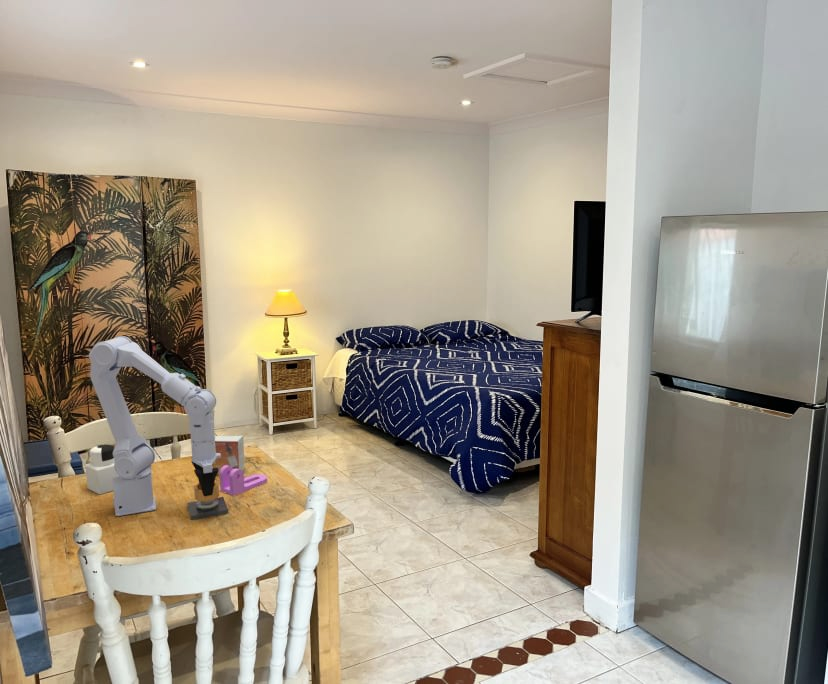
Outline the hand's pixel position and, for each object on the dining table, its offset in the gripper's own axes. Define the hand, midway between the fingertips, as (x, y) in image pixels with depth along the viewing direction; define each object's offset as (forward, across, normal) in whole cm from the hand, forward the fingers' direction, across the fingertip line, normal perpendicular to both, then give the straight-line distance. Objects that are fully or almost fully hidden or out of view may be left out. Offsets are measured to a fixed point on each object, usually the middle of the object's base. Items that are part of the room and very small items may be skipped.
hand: (206, 490), depth 171 cm
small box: (+5, +25, -9) cm, 27 cm away
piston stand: (+5, 0, 0) cm, 5 cm away
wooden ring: (+2, 0, 0) cm, 2 cm away
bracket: (+6, +12, -12) cm, 18 cm away
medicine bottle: (+5, +27, +24) cm, 37 cm away
